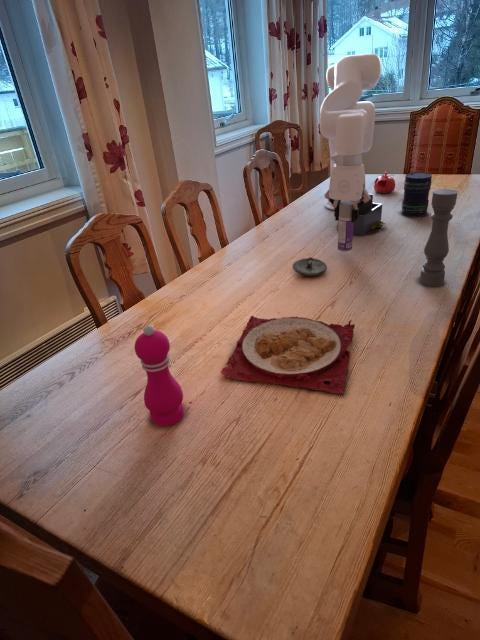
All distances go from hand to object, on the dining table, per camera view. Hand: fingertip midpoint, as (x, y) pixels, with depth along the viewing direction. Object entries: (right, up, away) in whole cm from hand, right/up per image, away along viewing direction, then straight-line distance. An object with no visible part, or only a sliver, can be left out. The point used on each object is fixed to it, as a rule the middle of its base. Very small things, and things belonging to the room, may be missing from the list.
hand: (346, 219), depth 135 cm
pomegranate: (+35, +29, +69) cm, 83 cm away
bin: (+12, +4, +29) cm, 31 cm away
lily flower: (+16, +4, +29) cm, 33 cm away
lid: (-12, -17, -2) cm, 21 cm away
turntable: (+12, +4, +29) cm, 31 cm away
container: (+1, -8, +5) cm, 10 cm away
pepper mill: (-47, -50, -53) cm, 87 cm away
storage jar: (+37, +11, +38) cm, 54 cm away
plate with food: (-22, -39, -39) cm, 60 cm away
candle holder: (+20, -21, -15) cm, 33 cm away
